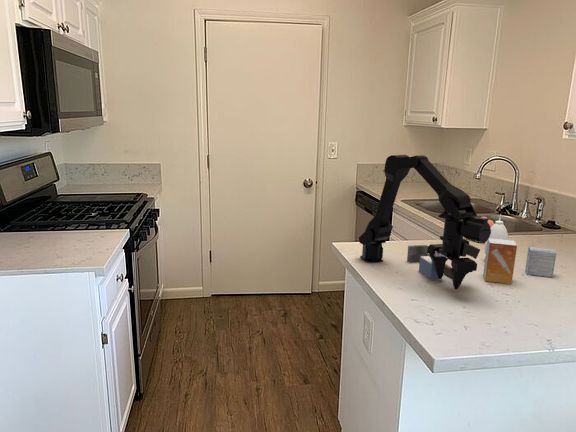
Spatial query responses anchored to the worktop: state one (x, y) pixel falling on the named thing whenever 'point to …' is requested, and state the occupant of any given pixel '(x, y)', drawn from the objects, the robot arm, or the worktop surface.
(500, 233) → the sauce bottle
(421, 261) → the boxed book
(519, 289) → the worktop surface
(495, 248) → the small box
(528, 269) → the medicine box
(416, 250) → the book rack
